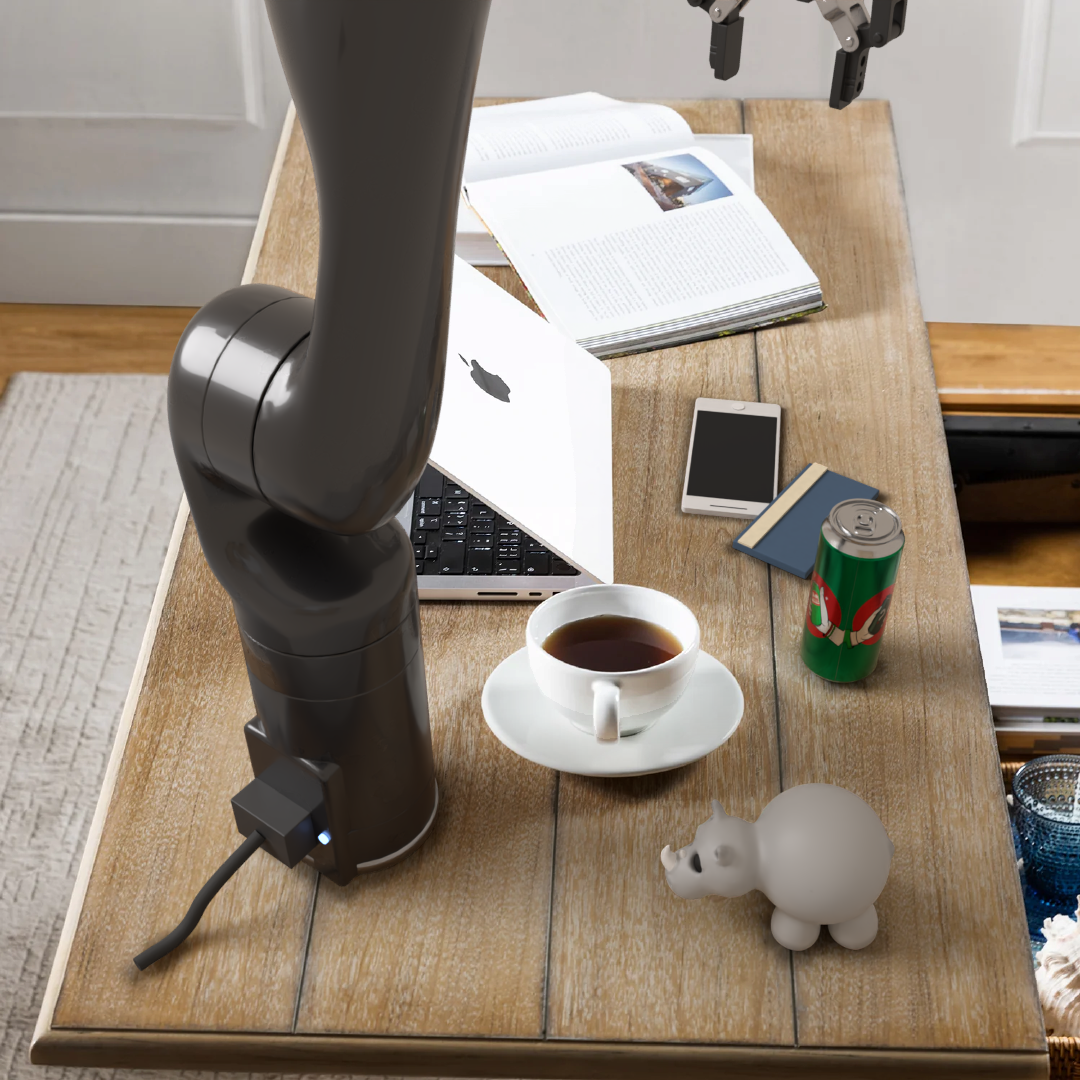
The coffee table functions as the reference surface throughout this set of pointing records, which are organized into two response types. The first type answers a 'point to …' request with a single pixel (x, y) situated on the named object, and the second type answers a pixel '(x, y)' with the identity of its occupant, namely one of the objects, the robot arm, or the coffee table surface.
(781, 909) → the toy rhinoceros
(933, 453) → the coffee table surface
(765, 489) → the smartphone
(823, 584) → the soda can
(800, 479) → the notebook
